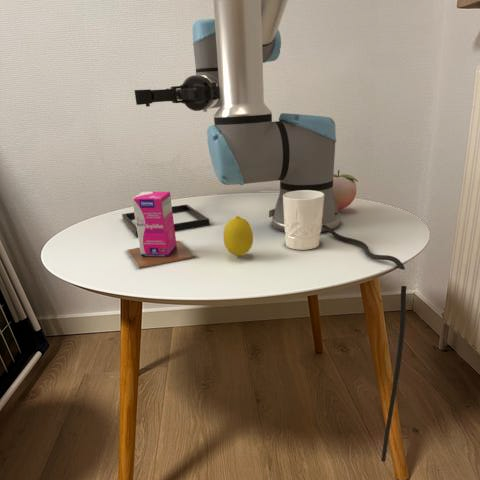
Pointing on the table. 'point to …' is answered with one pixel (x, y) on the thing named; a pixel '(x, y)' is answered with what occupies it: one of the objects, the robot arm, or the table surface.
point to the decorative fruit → (344, 190)
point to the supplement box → (154, 223)
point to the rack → (178, 226)
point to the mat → (147, 261)
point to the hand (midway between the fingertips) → (167, 95)
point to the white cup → (303, 218)
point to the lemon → (238, 236)
